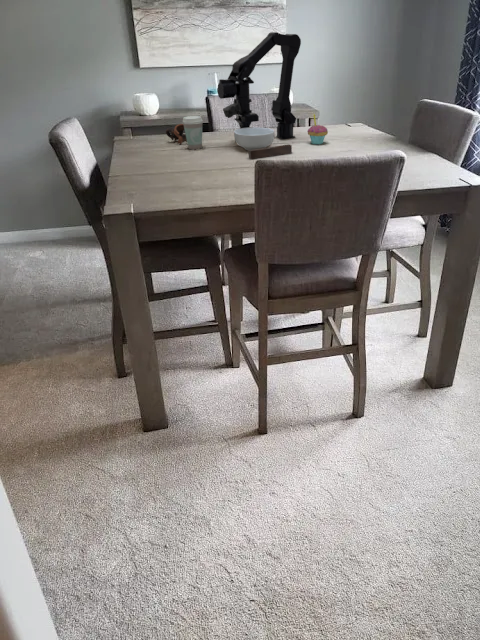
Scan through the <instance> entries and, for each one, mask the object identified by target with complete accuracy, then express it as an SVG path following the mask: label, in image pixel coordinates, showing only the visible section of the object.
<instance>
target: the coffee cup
mask: <svg viewBox="0 0 480 640" xmlns="http://www.w3.org/2000/svg"><path fill="white" fill-rule="evenodd" d="M203 123H204V120H203V118H202V115H201V116H200V115H188V116H184V117H183V118H182V124H184V129H185V130H184V134H186V139H187V140H186V143H187V148H188V150H200V149H202V148H203Z"/></svg>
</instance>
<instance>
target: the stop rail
mask: <svg viewBox="0 0 480 640" xmlns="http://www.w3.org/2000/svg"><path fill="white" fill-rule="evenodd" d="M292 148H293V145H291V144H281V145H275V146H267V147H265V148H260V149H253V150H248V159H249V160H255V159H262V158H266V157H267V158H268V157H269V158H270V157H275V156H283V155H288V154H289V155H290V154H292V153H293V152H292Z"/></svg>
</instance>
